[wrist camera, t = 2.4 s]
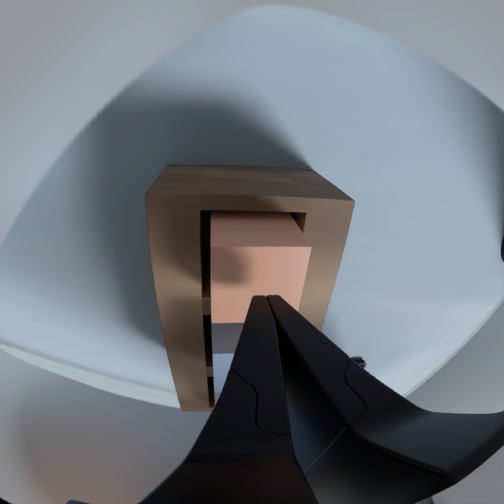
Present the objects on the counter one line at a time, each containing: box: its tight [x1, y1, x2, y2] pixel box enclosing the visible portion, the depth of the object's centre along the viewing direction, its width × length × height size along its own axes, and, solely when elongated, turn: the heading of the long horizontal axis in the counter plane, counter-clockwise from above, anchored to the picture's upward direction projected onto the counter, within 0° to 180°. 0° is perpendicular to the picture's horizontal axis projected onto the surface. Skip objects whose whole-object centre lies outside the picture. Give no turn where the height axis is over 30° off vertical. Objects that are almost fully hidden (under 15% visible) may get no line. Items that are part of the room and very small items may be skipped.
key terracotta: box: [210, 210, 311, 323], centre depth 11 cm, size 3×3×4 cm
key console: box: [145, 165, 355, 412], centre depth 16 cm, size 15×8×5 cm, turn 175°
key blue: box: [211, 319, 244, 393], centre depth 13 cm, size 3×3×4 cm
